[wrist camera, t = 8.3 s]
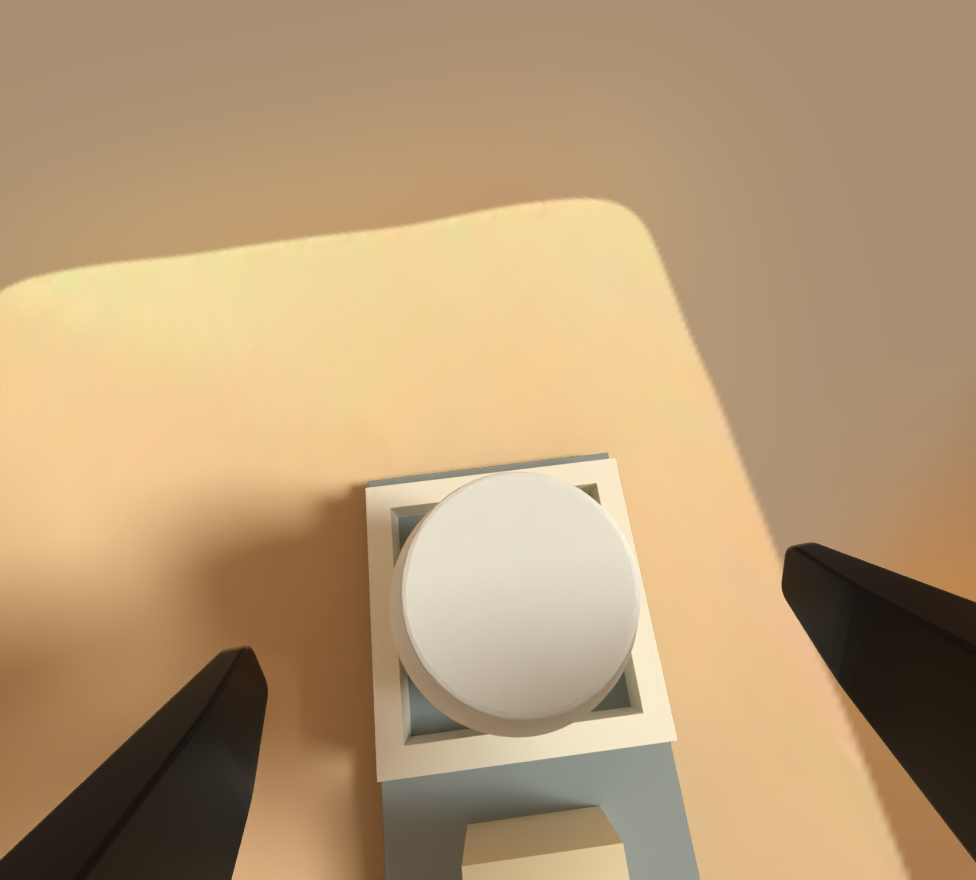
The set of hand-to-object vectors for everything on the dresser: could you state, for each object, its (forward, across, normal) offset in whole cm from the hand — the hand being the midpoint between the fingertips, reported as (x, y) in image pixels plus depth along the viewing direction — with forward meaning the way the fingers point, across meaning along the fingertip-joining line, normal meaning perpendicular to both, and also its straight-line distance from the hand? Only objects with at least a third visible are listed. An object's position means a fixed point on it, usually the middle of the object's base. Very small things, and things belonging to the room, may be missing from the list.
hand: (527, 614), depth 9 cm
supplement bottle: (+7, 0, +6) cm, 10 cm away
